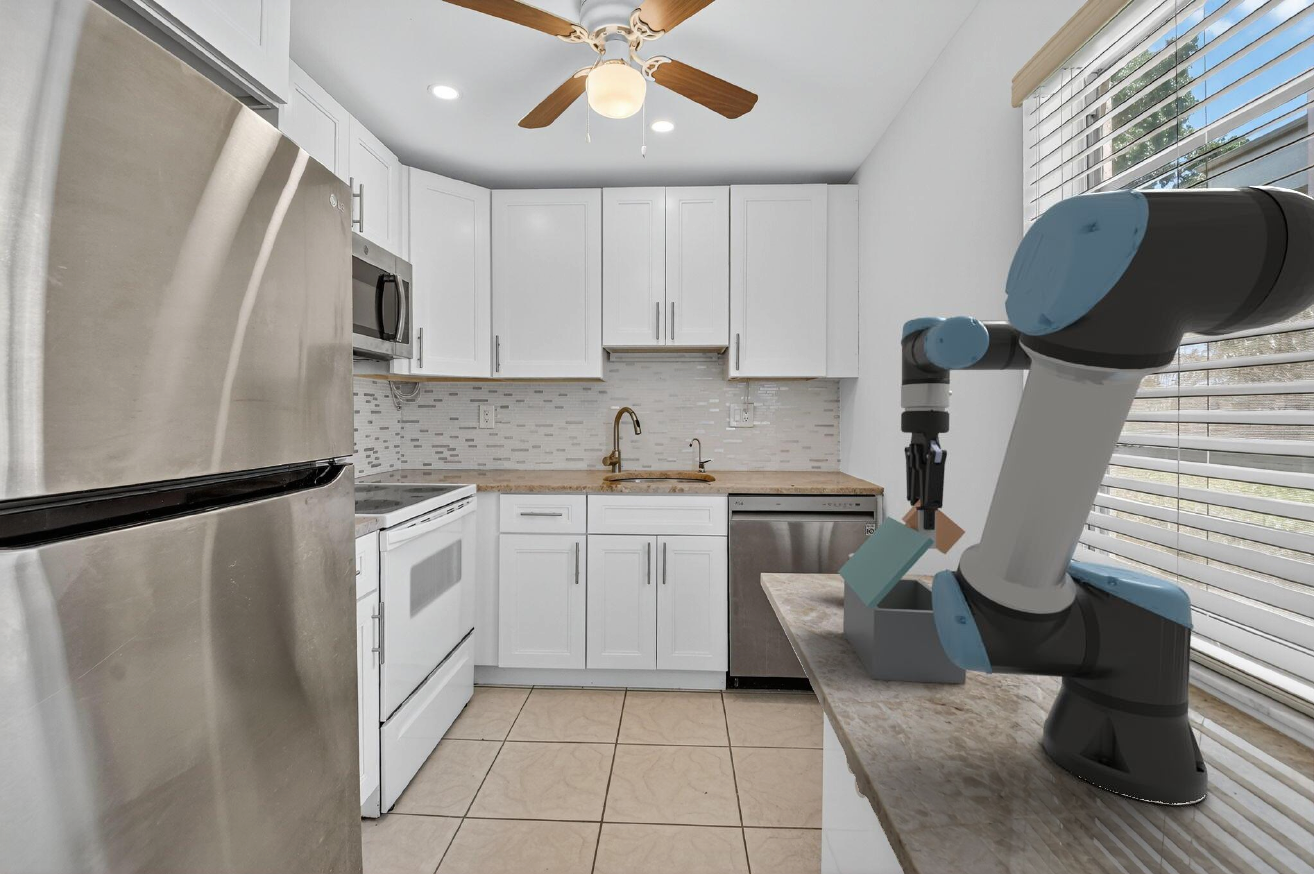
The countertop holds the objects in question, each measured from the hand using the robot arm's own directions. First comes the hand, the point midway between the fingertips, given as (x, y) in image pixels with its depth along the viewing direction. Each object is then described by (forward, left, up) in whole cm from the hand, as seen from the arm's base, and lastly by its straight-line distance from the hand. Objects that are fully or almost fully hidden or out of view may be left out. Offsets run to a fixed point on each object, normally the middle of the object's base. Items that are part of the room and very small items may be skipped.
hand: (923, 545), depth 98 cm
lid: (0, 0, -5) cm, 5 cm away
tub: (0, +4, -19) cm, 20 cm away
